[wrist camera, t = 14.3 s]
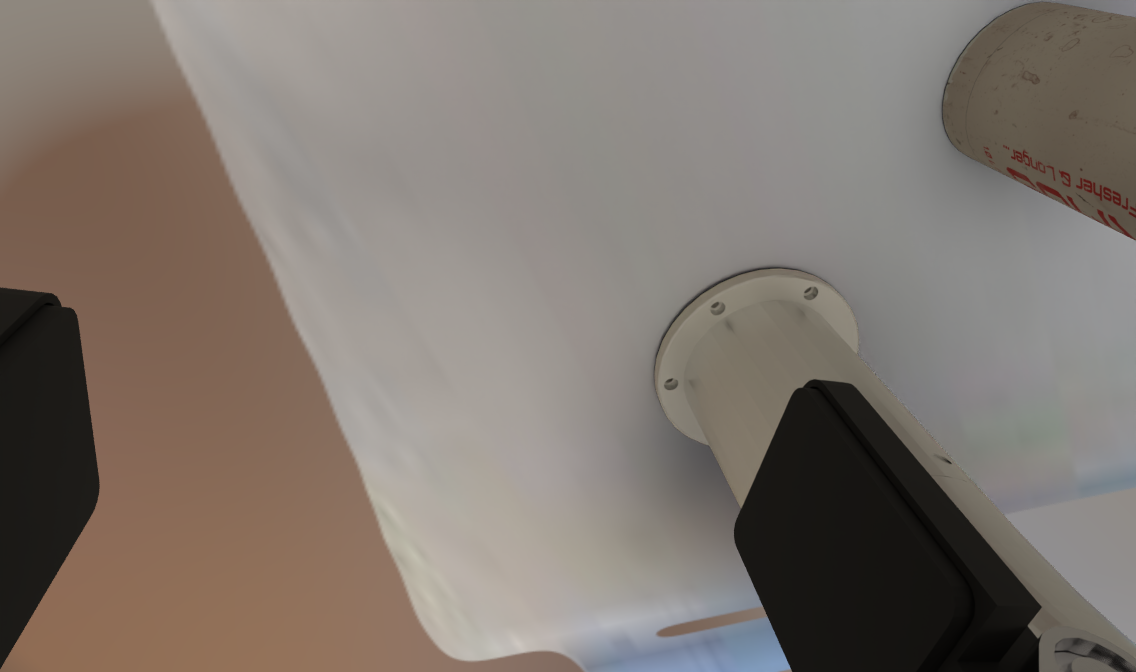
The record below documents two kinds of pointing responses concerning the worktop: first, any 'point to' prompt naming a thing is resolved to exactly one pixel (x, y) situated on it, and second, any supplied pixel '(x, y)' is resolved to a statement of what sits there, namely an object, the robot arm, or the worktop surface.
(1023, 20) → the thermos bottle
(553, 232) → the worktop surface
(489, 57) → the worktop surface
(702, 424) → the robot arm
